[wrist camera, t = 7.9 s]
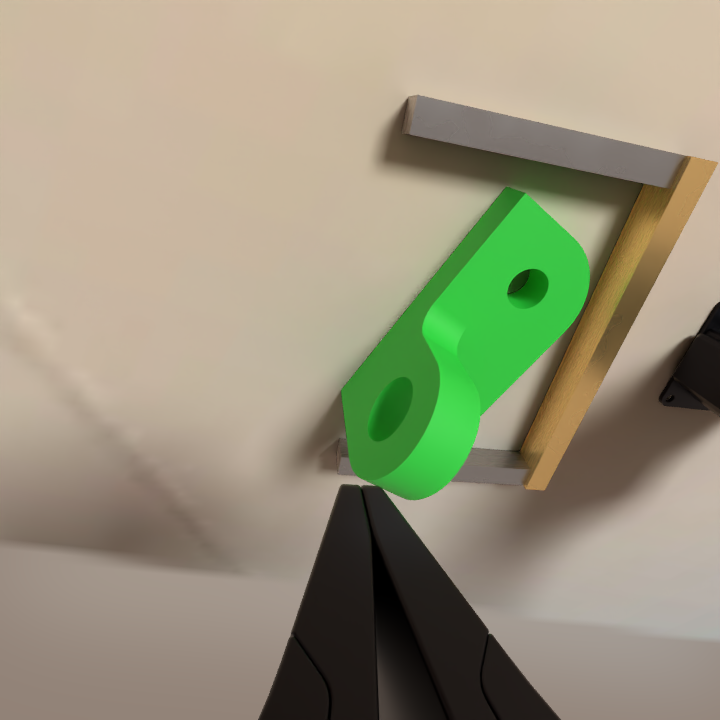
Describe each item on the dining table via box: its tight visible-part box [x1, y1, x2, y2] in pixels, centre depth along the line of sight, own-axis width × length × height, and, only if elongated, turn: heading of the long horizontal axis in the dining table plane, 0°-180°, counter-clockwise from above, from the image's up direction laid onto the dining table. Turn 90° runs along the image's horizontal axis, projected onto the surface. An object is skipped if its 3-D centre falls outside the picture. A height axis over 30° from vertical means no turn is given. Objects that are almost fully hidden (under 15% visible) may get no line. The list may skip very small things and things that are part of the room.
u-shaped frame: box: [336, 95, 718, 490], centre depth 20 cm, size 12×17×2 cm
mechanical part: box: [341, 187, 590, 500], centre depth 18 cm, size 12×6×8 cm, turn 144°
